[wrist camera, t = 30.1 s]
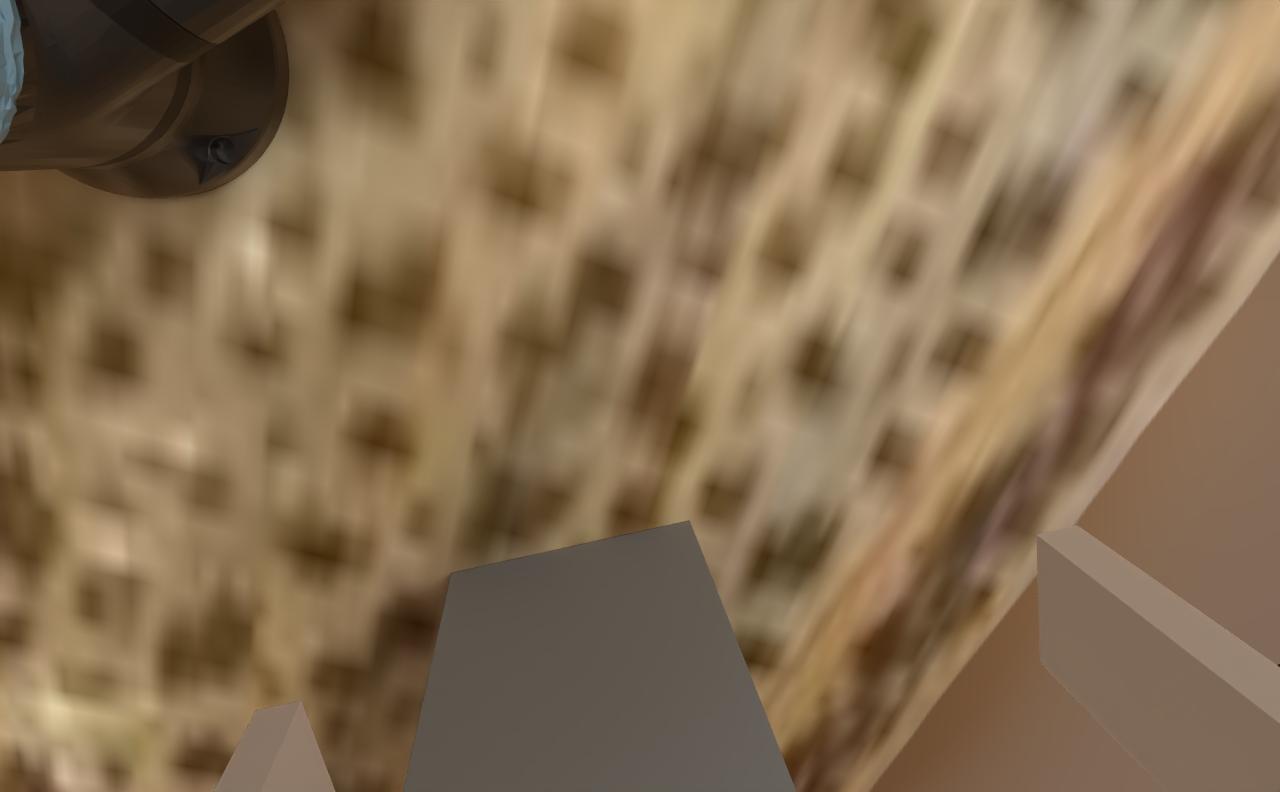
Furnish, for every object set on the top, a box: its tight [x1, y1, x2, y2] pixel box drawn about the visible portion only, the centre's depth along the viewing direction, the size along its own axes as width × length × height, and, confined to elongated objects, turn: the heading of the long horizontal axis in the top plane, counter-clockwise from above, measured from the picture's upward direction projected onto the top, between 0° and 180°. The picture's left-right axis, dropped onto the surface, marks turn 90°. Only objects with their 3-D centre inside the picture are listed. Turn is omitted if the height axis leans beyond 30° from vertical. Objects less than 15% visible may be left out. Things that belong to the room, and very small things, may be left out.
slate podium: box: [403, 521, 796, 792], centre depth 45 cm, size 17×12×27 cm
